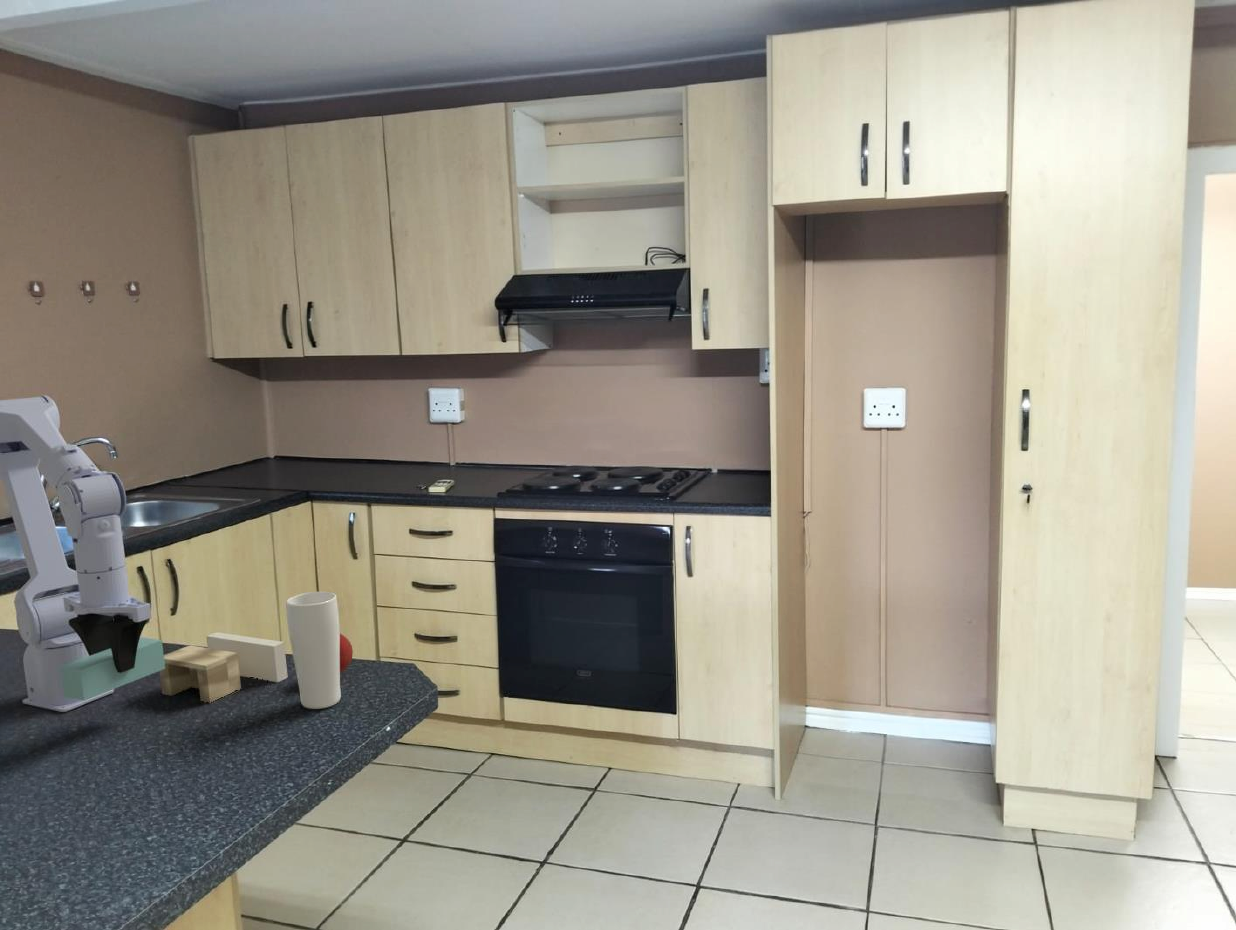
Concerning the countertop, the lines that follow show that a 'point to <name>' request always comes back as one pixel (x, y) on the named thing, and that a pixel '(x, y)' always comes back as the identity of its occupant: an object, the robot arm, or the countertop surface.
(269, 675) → the wall
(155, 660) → the mint green rectangular prism
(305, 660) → the drinking glass
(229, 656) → the block
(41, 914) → the countertop surface
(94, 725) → the countertop surface
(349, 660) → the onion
